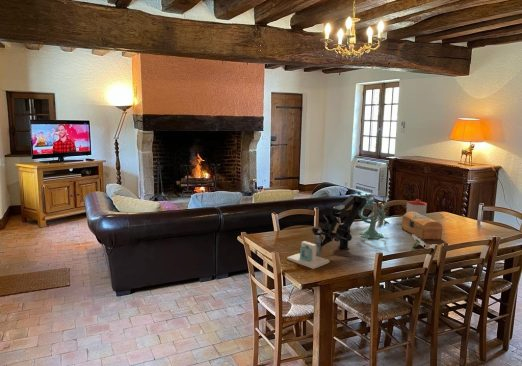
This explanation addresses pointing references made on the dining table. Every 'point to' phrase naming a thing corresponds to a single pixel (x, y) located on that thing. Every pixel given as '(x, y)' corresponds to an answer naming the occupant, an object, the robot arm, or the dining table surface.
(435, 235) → the wooden box
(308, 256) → the spacer
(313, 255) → the white mounting stand
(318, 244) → the grey block
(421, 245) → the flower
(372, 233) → the green tall branching piece
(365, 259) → the dining table surface
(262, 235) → the dining table surface
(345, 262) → the dining table surface
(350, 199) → the robot arm
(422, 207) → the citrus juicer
